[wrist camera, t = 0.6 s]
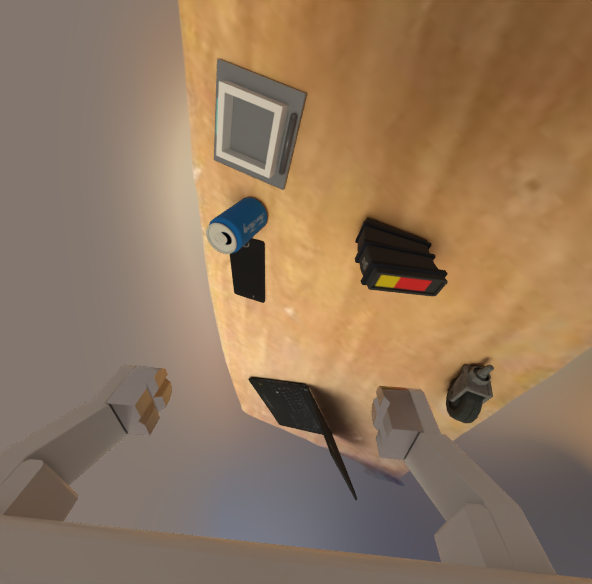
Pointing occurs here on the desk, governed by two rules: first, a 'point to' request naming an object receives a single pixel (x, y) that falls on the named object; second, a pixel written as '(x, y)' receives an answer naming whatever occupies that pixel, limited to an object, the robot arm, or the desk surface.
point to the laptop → (298, 413)
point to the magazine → (397, 261)
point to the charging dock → (256, 123)
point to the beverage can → (236, 225)
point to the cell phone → (249, 270)
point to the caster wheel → (469, 393)
